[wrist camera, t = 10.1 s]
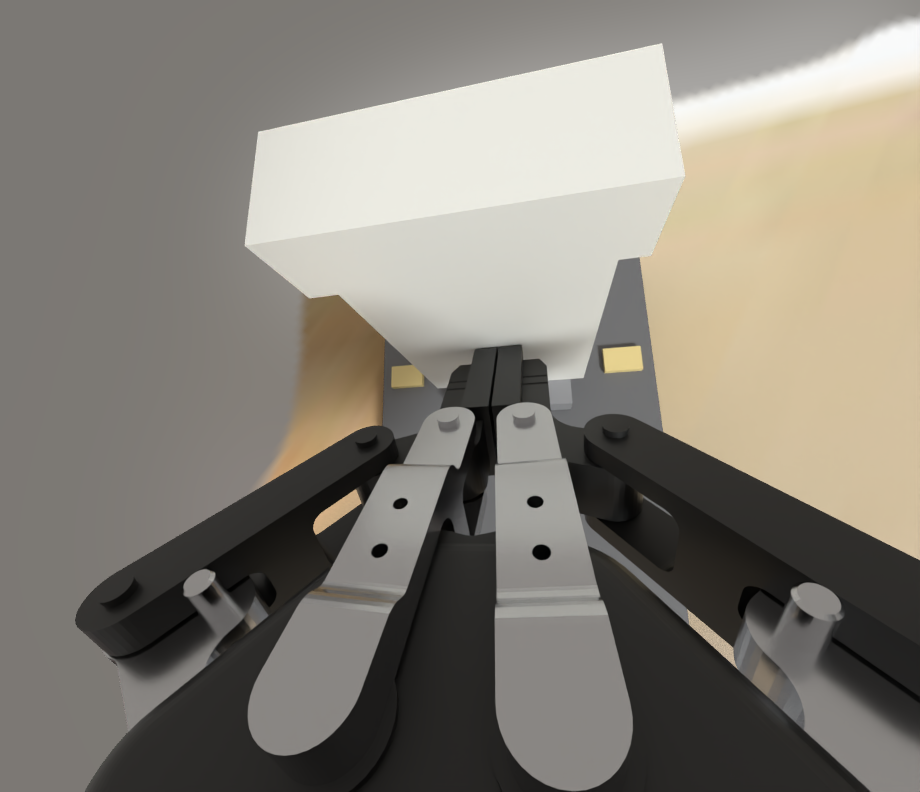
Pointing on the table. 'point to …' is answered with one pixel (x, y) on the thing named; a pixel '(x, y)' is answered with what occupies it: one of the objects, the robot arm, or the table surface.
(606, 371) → the fader console
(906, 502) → the table surface
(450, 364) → the fader tab
